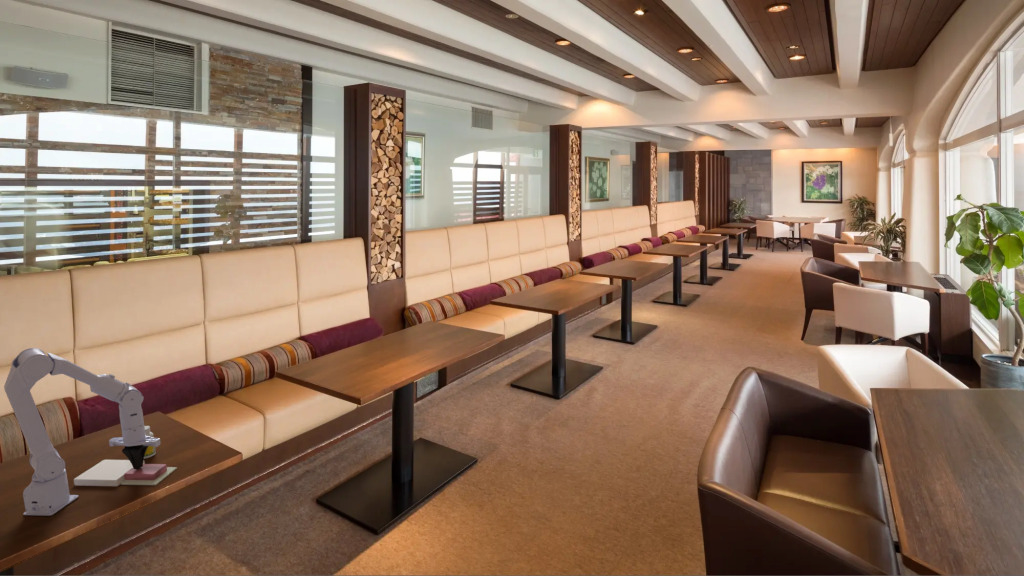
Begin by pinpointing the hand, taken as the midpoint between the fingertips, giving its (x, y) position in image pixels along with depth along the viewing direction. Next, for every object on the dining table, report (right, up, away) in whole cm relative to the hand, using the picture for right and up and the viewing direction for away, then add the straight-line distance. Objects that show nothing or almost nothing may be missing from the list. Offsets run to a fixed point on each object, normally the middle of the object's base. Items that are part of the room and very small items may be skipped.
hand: (138, 467), depth 171 cm
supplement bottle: (-6, -1, +14) cm, 15 cm away
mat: (+3, -3, 0) cm, 4 cm away
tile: (+2, -1, 0) cm, 3 cm away
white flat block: (-9, -3, +1) cm, 9 cm away
